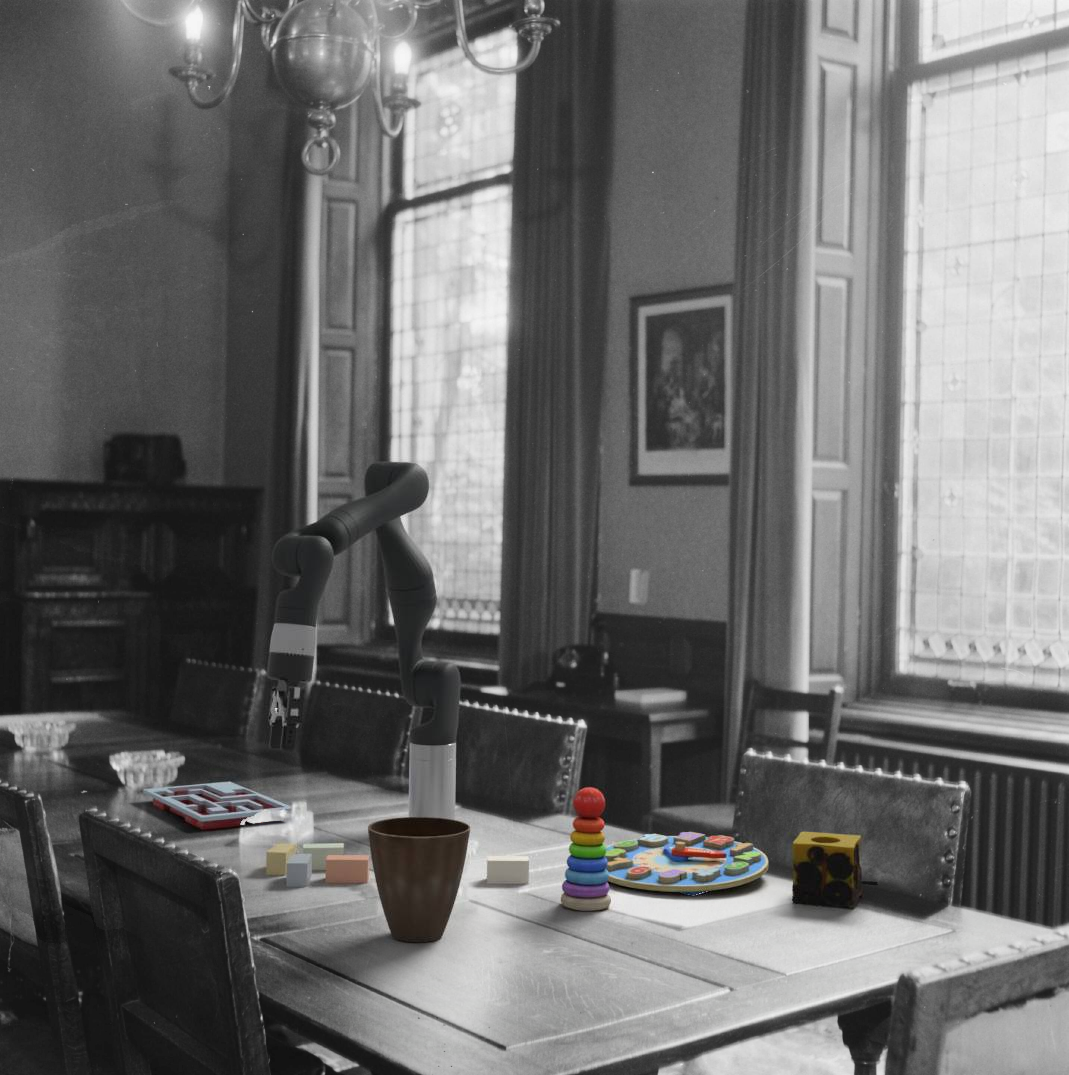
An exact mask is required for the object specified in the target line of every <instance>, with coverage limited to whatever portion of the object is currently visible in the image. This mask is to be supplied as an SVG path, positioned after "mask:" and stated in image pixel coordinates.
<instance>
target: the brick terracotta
mask: <svg viewBox="0 0 1069 1075" xmlns="http://www.w3.org/2000/svg"><path fill="white" fill-rule="evenodd" d="M369 880H370V855H368V854H366V855H365V854H364V855H363V854H359V855H358V854H356V855H355V854H353V855H352V854H351V855H348V854H345V855H328V856H327V858H326V870H325V883H326V884H327V883H332V884H333V883H334V884H335V883H336V884H339V883H340V884H343V883H344V884H362V883H363V884H367V883H369Z"/></svg>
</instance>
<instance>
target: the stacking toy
mask: <svg viewBox="0 0 1069 1075" xmlns="http://www.w3.org/2000/svg"><path fill="white" fill-rule="evenodd" d="M604 796H605V795H604V794H603V793H602V792H601V791H600V790H599V789H598V788H595V787H589V786H588V787H584V788H582V789H579V790H578V792H576V794H575V795H574V798H573V808H574V811H575V813H576V814H577V815H578V817H575V818H574V819H573V821H572V827H573V829H574V830H573V831H572V832H571V833H570V836H569V838H570V841H571V843H570V845H569V846H568V851H569V854H570V855H569V856H568V857H567V858H566V865H567V866H568V868H566V870H565V872H564V877H565V880H564V881H563V882H562V883H561V884H562V885H561V889H562V892H563V893H562V894H561V896H560V903H561V904H562V905H563V906H564V907H565V908H566V909H567V908H568V909H570V910H575V911H582V912H594V911H601V910H605V909H606V908H608V907H609V906H610V905H611V903H612V898H611V895H610V894H609V892H610V885H609V883H608V881H607V880H608V878H609V872H608V871H607V869H606V867H607V865H608V861H607V859H606V858H605V857H604V856H605V854H606V851H607V849H606V847H607V846H606V844H604V842H605V839H606V836H605V834H604V832H602V831H603V830H604V828H605V821H604V819H602V818H601V817H600V816H601V815H602V814H603V812H604V810H605V807H606V799H605V797H604Z"/></svg>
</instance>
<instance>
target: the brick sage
mask: <svg viewBox="0 0 1069 1075" xmlns="http://www.w3.org/2000/svg"><path fill="white" fill-rule="evenodd" d="M302 846H303V847H302V854H312V871H326V858H327V856H328V855H344V854H345V843H343V842H340V843H339V842H338V843H337V842H336V843H334V842H333V843H330V842H329V843H303V845H302Z"/></svg>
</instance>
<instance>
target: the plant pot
mask: <svg viewBox="0 0 1069 1075" xmlns="http://www.w3.org/2000/svg"><path fill="white" fill-rule="evenodd" d="M367 830H368V833H367V834H368V840H369V842H368V843H369V849H370V855H371V856H370V857H371V862H372V869H373V873H374V874H373V875H374V878H375V883H376V888H377V891H378V896H379V900H380V903H381V907H382V910H383V913H384V918H385V921H386V923H387V926H388V928H389V931H390V933H391V936H392V938H393V939H395V940H397V941H400V942H405V943H429V942H434V941H437V940H439V939H441V938H442V937H443V935H444V933H445V931H446V927H447V925H448V922H449V920H450V918H451V914H452V912H453V909H454V905H455V902H456V899H457V895H458V892H459V888H460V884H461V882H462V877H463V872H464V867H465V863H466V858H467V851H468V846H469V841H470V840H469V839H470V833H471V826H470V825H469V823H466V822H465V821H464V822H463V821H460V820H456V819H455V820H452V819H445V818H434V817H409V816H406V817H404V816H403V817H402V816H401V817H394V818H385V819H381V820H380V819H379V820H376V821H374V822H371V823H370V824H369V825H368V826H367ZM428 941H429V942H428Z"/></svg>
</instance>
